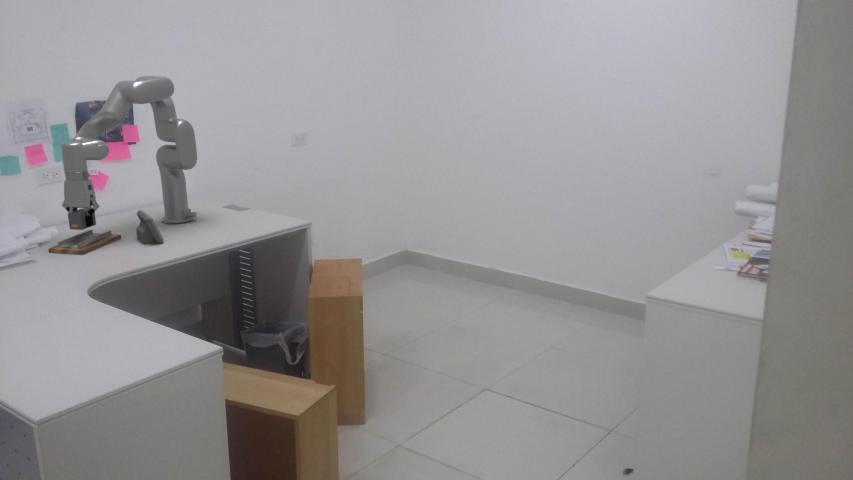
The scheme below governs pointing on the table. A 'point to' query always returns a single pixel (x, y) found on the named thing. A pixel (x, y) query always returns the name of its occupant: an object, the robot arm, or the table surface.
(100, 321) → the table surface
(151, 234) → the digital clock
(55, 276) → the table surface
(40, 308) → the table surface
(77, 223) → the block
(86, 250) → the rail mount
